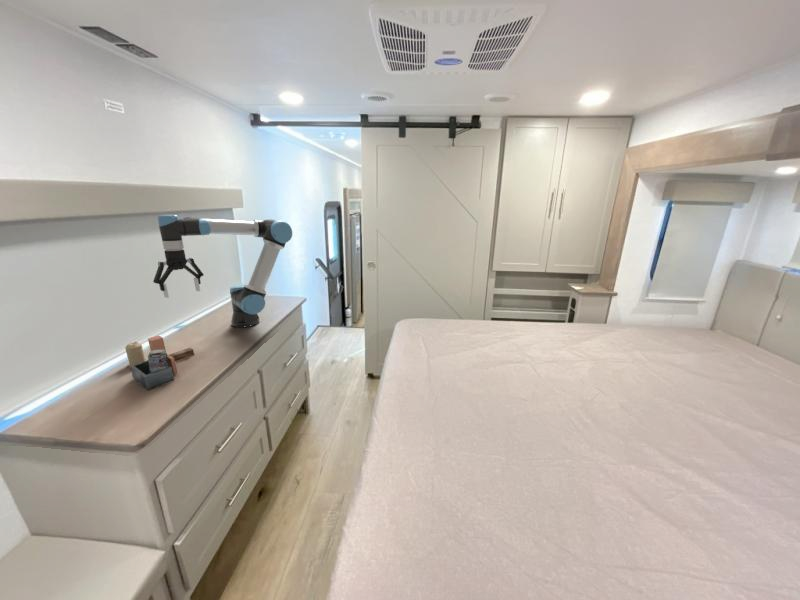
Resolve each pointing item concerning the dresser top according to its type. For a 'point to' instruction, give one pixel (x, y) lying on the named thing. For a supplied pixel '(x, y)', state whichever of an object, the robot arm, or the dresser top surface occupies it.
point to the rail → (182, 354)
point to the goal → (151, 375)
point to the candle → (135, 353)
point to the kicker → (158, 344)
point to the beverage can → (157, 360)
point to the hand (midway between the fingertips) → (182, 293)
